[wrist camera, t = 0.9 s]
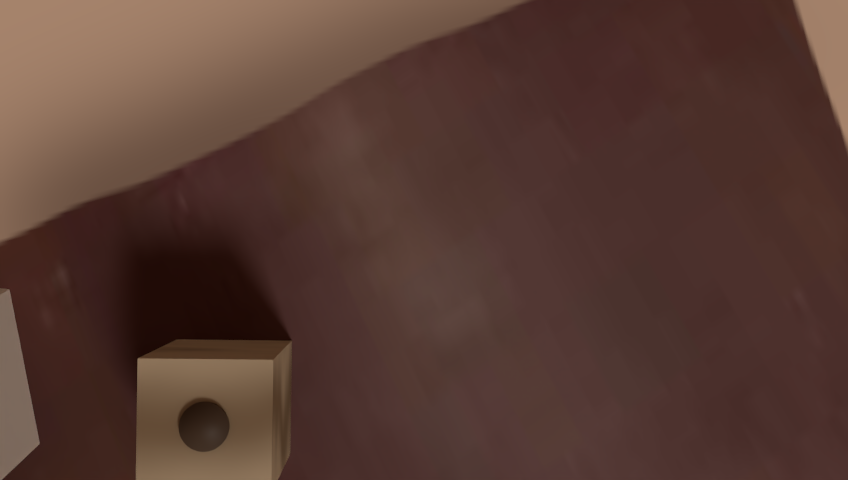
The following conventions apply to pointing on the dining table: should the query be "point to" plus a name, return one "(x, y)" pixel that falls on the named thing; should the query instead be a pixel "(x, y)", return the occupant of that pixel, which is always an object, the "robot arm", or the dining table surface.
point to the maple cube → (214, 410)
